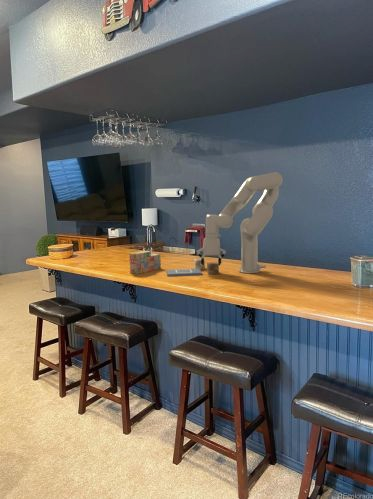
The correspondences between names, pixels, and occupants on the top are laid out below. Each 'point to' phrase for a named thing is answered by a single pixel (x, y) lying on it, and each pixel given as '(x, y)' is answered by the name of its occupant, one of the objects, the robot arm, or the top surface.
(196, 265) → the maple cube
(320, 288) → the top surface
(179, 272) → the board
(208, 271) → the walnut cube
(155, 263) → the stack of blocks
